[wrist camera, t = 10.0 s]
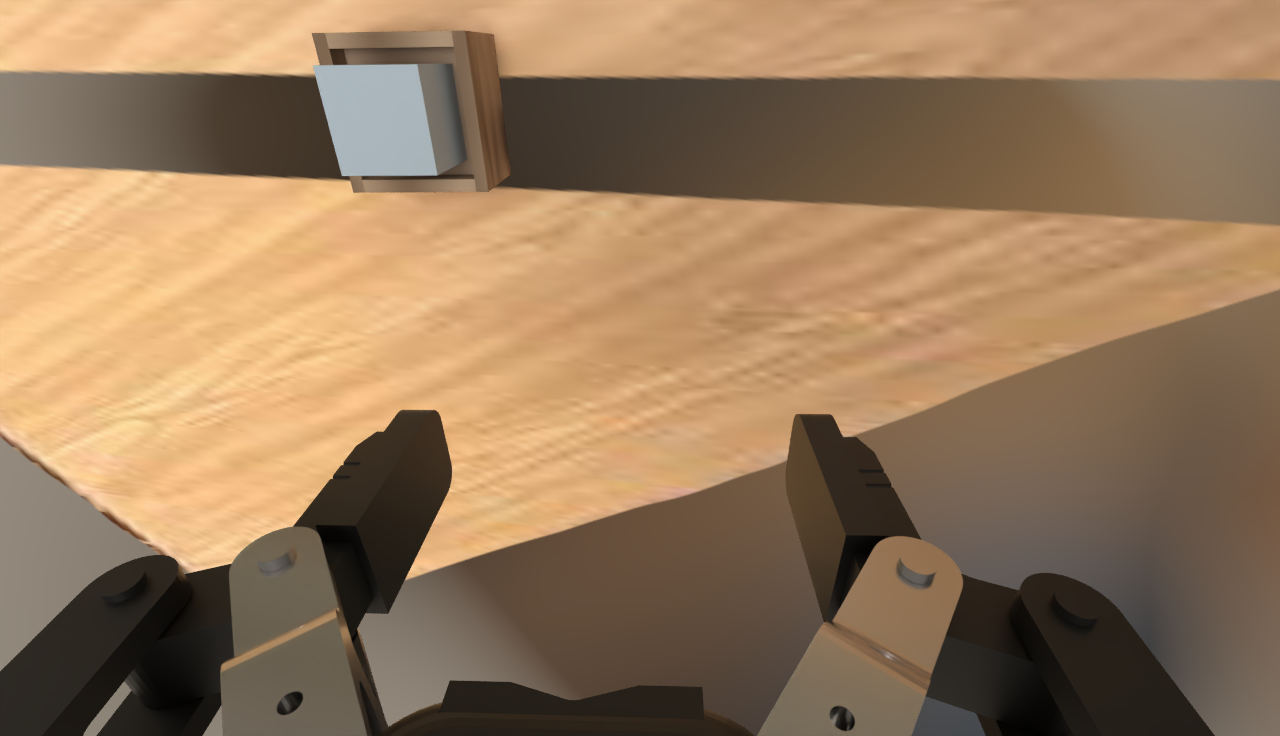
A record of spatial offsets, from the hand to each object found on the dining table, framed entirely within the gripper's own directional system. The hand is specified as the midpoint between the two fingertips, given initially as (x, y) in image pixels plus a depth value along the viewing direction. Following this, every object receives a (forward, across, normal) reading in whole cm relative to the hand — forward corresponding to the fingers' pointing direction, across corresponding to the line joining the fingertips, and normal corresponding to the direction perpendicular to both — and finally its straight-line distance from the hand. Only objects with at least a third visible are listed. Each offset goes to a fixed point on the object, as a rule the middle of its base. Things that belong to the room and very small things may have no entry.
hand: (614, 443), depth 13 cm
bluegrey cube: (+24, +13, -5) cm, 28 cm away
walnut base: (+28, +13, -5) cm, 31 cm away
